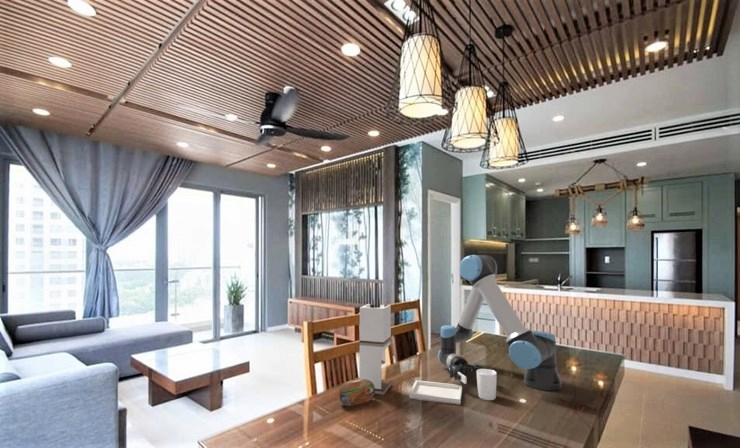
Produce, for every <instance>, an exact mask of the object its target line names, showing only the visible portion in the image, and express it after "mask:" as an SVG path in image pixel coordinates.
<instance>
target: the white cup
mask: <svg viewBox="0 0 740 448" xmlns="http://www.w3.org/2000/svg"><path fill="white" fill-rule="evenodd" d="M475 374H476V385H477V394H478V398H480V399H481V400H483V401H484V400H485V401H494V400H495V399H496V397H497V393H496V392H497V371H496V370H494V369H492V370H490V369H478V370H477V371H476V373H475Z"/></svg>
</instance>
